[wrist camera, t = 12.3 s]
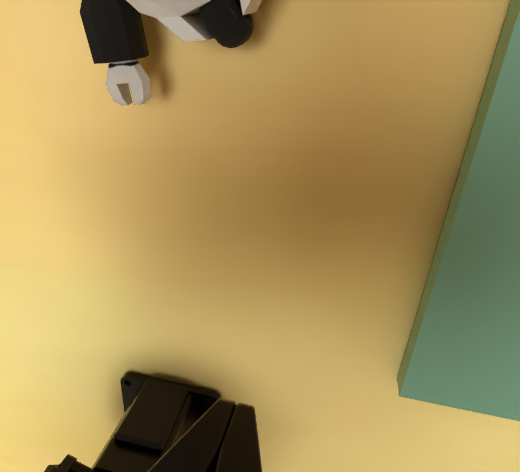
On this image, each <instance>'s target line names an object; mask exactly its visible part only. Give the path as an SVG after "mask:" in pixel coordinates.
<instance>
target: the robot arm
mask: <svg viewBox="0 0 520 472" xmlns="http://www.w3.org/2000/svg"><path fill="white" fill-rule="evenodd" d="M121 388H122V396H123V403H124V411H125V414H124V416H123V417H122V419H121V420H120V422H119V424H118V425H117V427H116V429H115V430H114V432H113V434H112V435H111V437H110V439H109V440H108V442H107V443H106V445H105V447H104V448H103V450H102V452H101V453H100V455H99V457H98V458H97V460H96V462H95V463H94V465H93V467H92V468H89V467H88V466H86V465H84V464H82V463H80V462H78V461H76V460H77V458H75V457H73V456H71V455H69V454H68V455H67V456H66V457H65V459H64V460H63V461H62V463H61V464H59V465H49V466H48V467H47V468H46V470H45V471H44V472H262V466H261V458H260V449H259V441H258V432H257V424H256V415H255V408H254V407H253V406H251V405H247V404H243V403H238V404H237V405H236V403H235V402H234V401H230V400H226V399H221V397H220V395H219V394H218V393H217V392H215V391H211V390H207V389H202V388H198V387H193V386H188V385H184V384H179V383H175V382H170V381H166V380H161V379H157V378H152V377H148V376H143V375H139V374H134V373H125V374H124V376H123V377H122V378H121Z"/></svg>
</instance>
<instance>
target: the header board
mask: <svg viewBox="0 0 520 472" xmlns="http://www.w3.org/2000/svg"><path fill="white" fill-rule="evenodd" d="M397 380H398V389H399V396H401V397H406V398H410V399H415V400H420V401H425V402H430V403H435V404H439V405H444V406H449V407H454V408H459V409H464V410H468V411H473V412H478V413H483V414H488V415H493V416H497V417H502V418H507V419H512V420H517V421H520V0H511V1H510V4H509V8H508V11H507V14H506V18H505V21H504V24H503V28H502V31H501V34H500V38H499V41H498V44H497V48H496V51H495V54H494V58H493V61H492V64H491V68H490V71H489V74H488V78H487V81H486V84H485V88H484V91H483V95H482V98H481V101H480V105H479V108H478V111H477V115H476V118H475V121H474V125H473V128H472V131H471V135H470V138H469V141H468V145H467V148H466V151H465V155H464V158H463V161H462V165H461V168H460V171H459V175H458V178H457V181H456V185H455V188H454V191H453V195H452V198H451V201H450V205H449V208H448V211H447V215H446V218H445V221H444V225H443V228H442V231H441V235H440V238H439V241H438V245H437V248H436V251H435V255H434V258H433V261H432V265H431V268H430V271H429V275H428V278H427V281H426V285H425V288H424V292H423V295H422V298H421V302H420V305H419V308H418V312H417V315H416V318H415V322H414V325H413V328H412V332H411V335H410V338H409V342H408V345H407V348H406V352H405V355H404V358H403V362H402V365H401V368H400V372H399V375H398V378H397Z"/></svg>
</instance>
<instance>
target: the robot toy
mask: <svg viewBox="0 0 520 472" xmlns="http://www.w3.org/2000/svg"><path fill="white" fill-rule="evenodd" d="M261 2H262V0H82V3H81V8H80V14H81V18H82V22H83V25H84V29H85V32H86V36H87V40H88V43H89V47H90V50H91V54H92V58H93V61H94V64H96V63H110V64H109V67H108V73H107V80H106V86H107V88H108V90H109V92H110V94H111V96H112V98H113V100H114V101H115V102H117V103H118V104H120V105H129V104H131V103H133V102H132V99H131V96H130V90H129V86H130V89H131V93H132V96H133V99H134V105H136V104H143V103H146V101H147V100H148V99H149V98H150V97H151V94H150V78H149V76H148V75H147V73H146V72H145V70H144V69H143V67H142V66H141V65H140V63H139V62H138V61H137V60H136V59H139V58H143V57H146V56H148V55H149V52H148V47H147V42H146V38H145V33H144V28H143V24H142V19H141V14H140V13H143V14H146V15H149V16H151V17H154V18H156V19H158V20H159V21H160V22H161V23H162V24H163V25H164V26H166V27H167V28H168V29H169V30H170V31H171V32H172V33H174V34H175V35H176V36H177V37H178V38H179V39H180V40H182V41H183V42H184V41H201V40H209V39H212V38H215V39H216V40H217V42H218V43H220V44H221V45H222V46H224V47H228V48H235V47H238V46H240V45H242V44H244V43H245V42H246V41H247V40H248V39H249V37H250V36H251V34H252V31H253V27H254V25H253V21H252V17H251V13H255V12H256V11H257V9H258V7H259V5H260V4H261ZM128 83H129V85H128Z"/></svg>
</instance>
